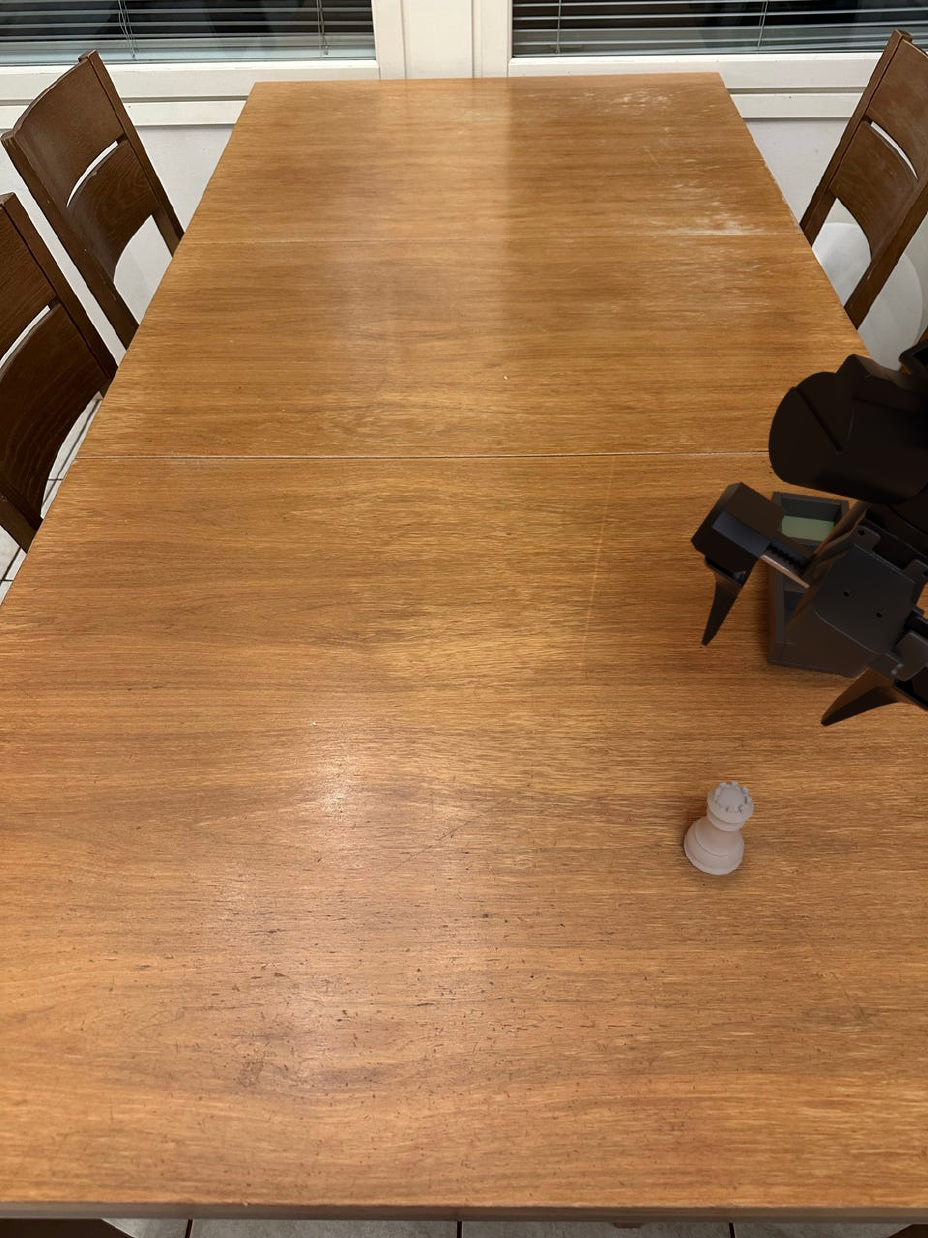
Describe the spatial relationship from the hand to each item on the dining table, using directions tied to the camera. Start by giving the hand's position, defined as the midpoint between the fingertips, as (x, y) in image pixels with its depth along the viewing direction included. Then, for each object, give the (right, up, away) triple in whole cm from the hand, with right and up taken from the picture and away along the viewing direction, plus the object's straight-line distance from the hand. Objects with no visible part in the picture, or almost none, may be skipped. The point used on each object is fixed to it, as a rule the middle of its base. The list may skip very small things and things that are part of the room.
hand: (763, 681), depth 63 cm
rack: (+13, +7, +28) cm, 32 cm away
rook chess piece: (-1, -14, +10) cm, 17 cm away
